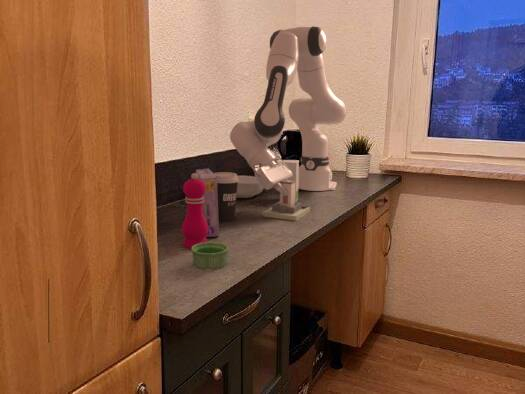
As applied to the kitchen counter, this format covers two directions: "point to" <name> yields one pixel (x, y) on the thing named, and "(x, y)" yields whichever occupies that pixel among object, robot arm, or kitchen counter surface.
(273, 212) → the board
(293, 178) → the skincare box
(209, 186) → the cake pan box
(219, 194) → the coffee cup
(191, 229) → the pepper mill
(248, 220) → the kitchen counter surface
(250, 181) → the cereal bowl
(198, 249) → the ramekin
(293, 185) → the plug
